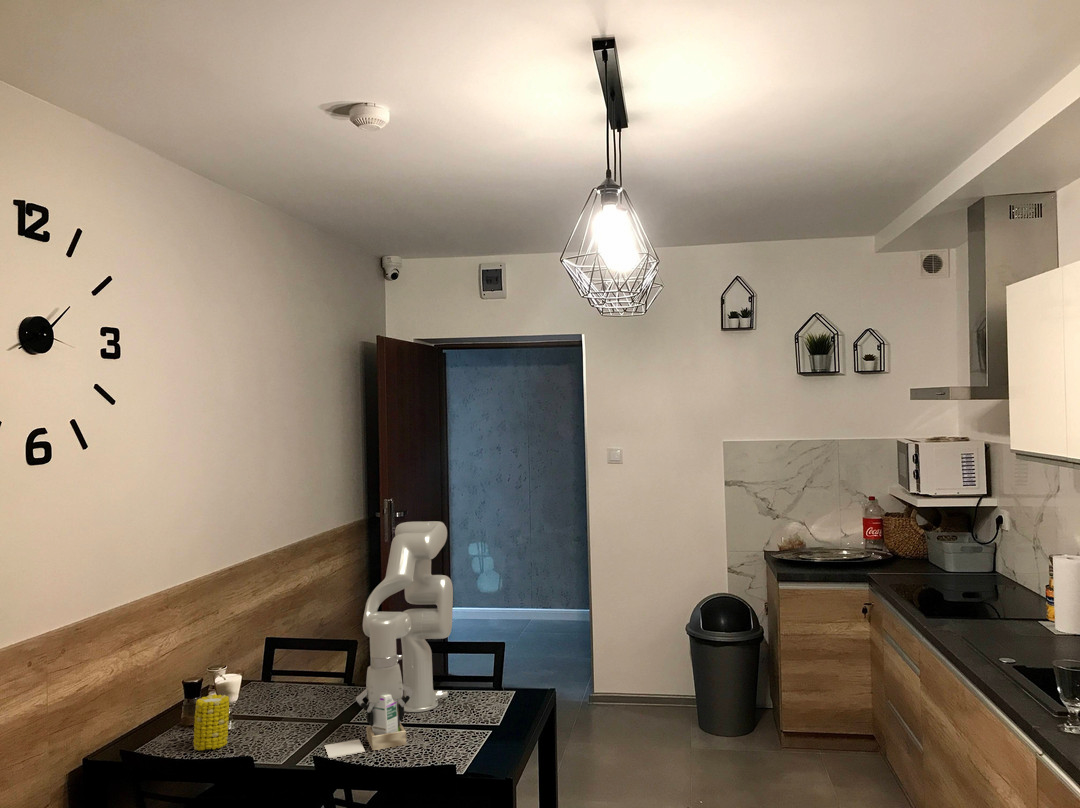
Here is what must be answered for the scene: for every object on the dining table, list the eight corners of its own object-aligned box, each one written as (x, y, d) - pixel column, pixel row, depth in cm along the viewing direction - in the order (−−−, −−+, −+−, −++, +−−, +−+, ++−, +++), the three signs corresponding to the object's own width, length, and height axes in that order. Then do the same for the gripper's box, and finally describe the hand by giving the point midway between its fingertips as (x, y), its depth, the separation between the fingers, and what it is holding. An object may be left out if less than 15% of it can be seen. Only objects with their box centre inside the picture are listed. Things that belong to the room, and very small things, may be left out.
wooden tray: (399, 734, 248) (398, 720, 248) (406, 745, 239) (406, 731, 239) (367, 740, 244) (366, 726, 244) (372, 751, 235) (372, 737, 235)
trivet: (359, 741, 243) (359, 739, 243) (365, 753, 234) (365, 750, 234) (324, 747, 240) (324, 745, 240) (328, 759, 230) (328, 757, 230)
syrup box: (387, 747, 237) (385, 696, 238) (372, 744, 240) (370, 693, 241) (400, 741, 242) (399, 690, 243) (385, 737, 245) (384, 688, 246)
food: (187, 755, 242) (216, 745, 250) (213, 752, 236) (242, 742, 245) (180, 701, 245) (210, 693, 253) (206, 697, 239) (235, 689, 247)
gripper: (410, 654, 249) (412, 713, 248) (351, 662, 242) (353, 723, 242) (416, 660, 242) (418, 721, 241) (355, 668, 235) (357, 731, 235)
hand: (385, 721), depth 242 cm, fingers closed on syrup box, 8 cm apart
